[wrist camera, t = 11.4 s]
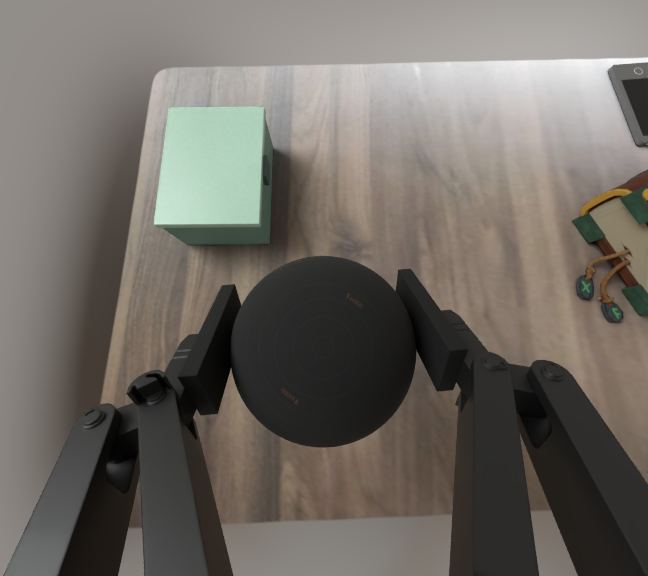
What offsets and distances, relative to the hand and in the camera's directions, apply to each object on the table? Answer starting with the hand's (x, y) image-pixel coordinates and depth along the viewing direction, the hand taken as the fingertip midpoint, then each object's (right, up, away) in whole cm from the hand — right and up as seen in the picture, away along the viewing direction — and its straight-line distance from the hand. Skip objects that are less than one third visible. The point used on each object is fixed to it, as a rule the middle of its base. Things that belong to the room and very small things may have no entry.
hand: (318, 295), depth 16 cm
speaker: (0, -4, +3) cm, 5 cm away
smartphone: (+53, +30, +25) cm, 66 cm away
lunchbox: (-14, +15, +22) cm, 30 cm away
